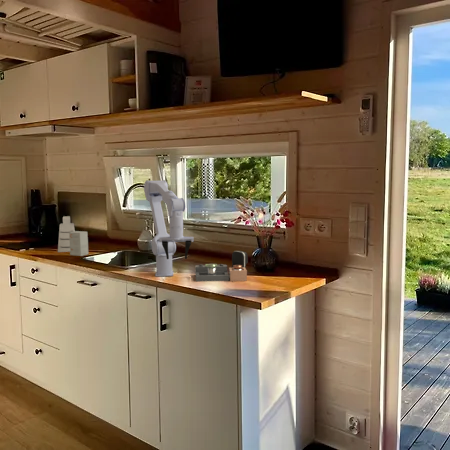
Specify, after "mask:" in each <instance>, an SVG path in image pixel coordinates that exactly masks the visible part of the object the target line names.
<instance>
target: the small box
mask: <svg viewBox="0 0 450 450" xmlns="http://www.w3.org/2000/svg"><path fill="white" fill-rule="evenodd" d="M88 236H89V235H88V231H85V230H84V231H83V230H82V231H81V230H80V231H79V230H75V231H74V232H69V240H70V252H69V255H70V256H76V257H77V256H78V257H79V256H80V257H84V256H87V255H89V237H88Z"/></svg>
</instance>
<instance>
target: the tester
mask: <svg viewBox="0 0 450 450" xmlns="http://www.w3.org/2000/svg"><path fill="white" fill-rule="evenodd" d="M208 264H209V263H205V264H201V263H200V264H197V265H194V266H195V267H194V270H195V271H194V273H195V274H194V275H195V281H196V282H229V281H230V279H229V271H228V265H227V264H223V263H220V264H217V263H215V264H216V275H208Z"/></svg>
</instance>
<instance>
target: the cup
mask: <svg viewBox="0 0 450 450" xmlns="http://www.w3.org/2000/svg"><path fill="white" fill-rule="evenodd" d="M228 274H229V281H230V282H247V281H248V276H247V275H248V270H247V267H246V268H245V267H242V270H234V268H232V267H228Z"/></svg>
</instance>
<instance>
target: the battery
mask: <svg viewBox="0 0 450 450" xmlns="http://www.w3.org/2000/svg"><path fill="white" fill-rule="evenodd" d="M248 258H249V257H248V253H247V251H242V250H234V251H233V252H232V255H231V266H232V267H231V268H233V265H242V267H245V268H246V269H247V267H246V266H247V264H248V262H249V259H248Z"/></svg>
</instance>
